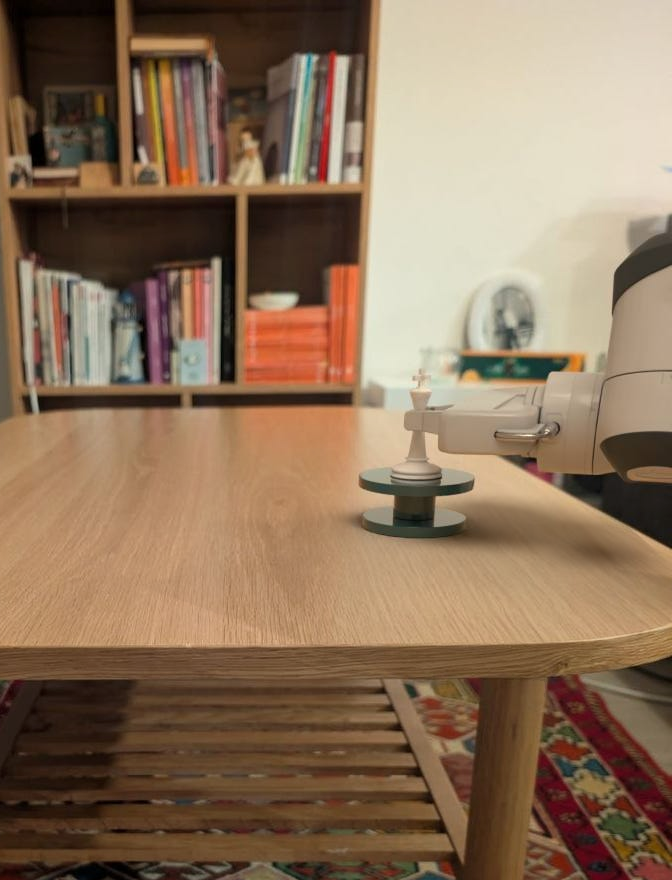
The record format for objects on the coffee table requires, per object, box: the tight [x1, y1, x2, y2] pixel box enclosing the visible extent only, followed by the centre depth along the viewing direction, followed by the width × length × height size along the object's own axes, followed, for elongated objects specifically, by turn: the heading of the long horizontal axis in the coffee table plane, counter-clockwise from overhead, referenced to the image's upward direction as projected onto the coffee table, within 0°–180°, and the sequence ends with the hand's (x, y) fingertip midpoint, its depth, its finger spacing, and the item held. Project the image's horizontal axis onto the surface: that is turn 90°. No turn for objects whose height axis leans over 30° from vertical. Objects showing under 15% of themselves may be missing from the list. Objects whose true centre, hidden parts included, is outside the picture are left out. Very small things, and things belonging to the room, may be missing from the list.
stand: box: [357, 466, 476, 539], centre depth 93 cm, size 11×11×5 cm
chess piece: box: [390, 368, 443, 480], centre depth 90 cm, size 5×5×10 cm
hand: (410, 417), depth 90 cm, fingers closed on chess piece, 2 cm apart
